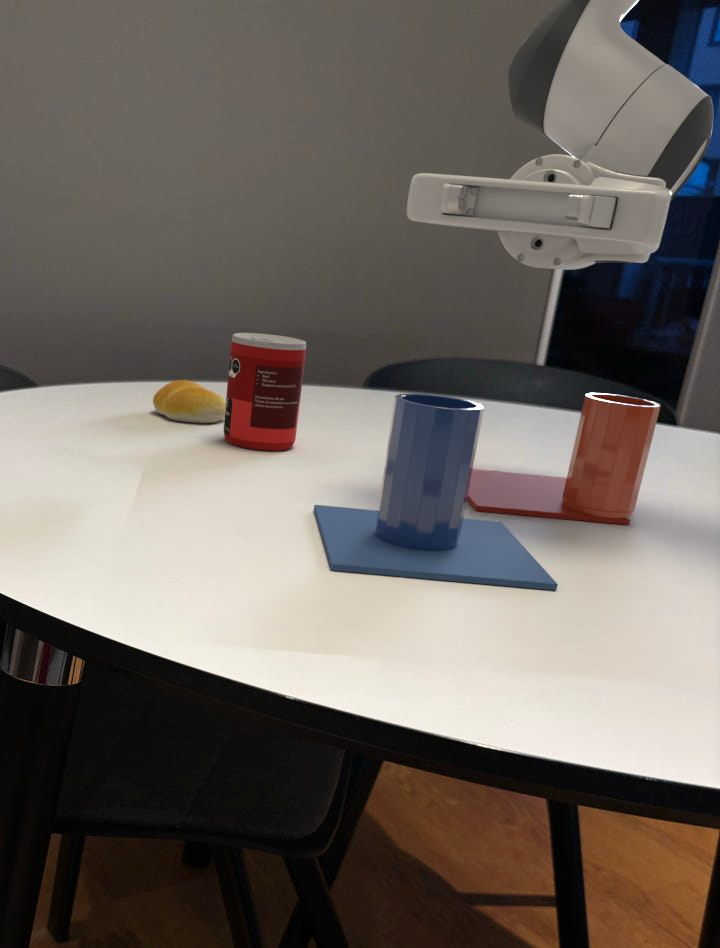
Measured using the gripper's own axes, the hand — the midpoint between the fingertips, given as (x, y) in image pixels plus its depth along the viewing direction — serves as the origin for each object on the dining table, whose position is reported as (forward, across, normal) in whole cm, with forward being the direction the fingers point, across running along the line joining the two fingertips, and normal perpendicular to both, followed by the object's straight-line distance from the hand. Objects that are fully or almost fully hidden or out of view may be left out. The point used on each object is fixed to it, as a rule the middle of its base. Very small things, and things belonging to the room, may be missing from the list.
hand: (511, 201), depth 75 cm
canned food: (-17, -27, +25) cm, 41 cm away
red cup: (-16, +9, +24) cm, 31 cm away
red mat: (-18, +2, +25) cm, 31 cm away
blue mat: (+7, 0, +25) cm, 26 cm away
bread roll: (-24, -40, +25) cm, 53 cm away
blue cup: (+7, -1, +24) cm, 25 cm away
